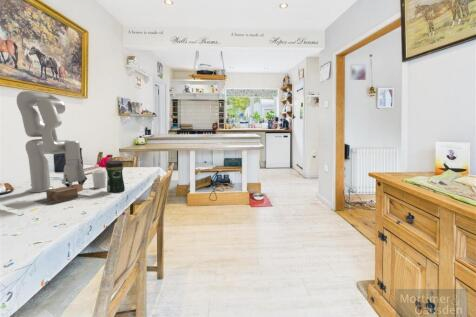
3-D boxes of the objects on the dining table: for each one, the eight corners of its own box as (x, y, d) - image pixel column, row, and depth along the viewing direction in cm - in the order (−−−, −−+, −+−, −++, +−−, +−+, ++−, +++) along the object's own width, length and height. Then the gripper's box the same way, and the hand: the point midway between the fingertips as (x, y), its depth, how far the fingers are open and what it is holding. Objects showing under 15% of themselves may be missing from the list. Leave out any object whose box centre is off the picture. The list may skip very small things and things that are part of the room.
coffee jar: (122, 188, 173) (120, 159, 171) (126, 191, 167) (124, 160, 165) (105, 191, 167) (103, 160, 165) (109, 193, 161) (107, 162, 159)
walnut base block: (47, 199, 143) (46, 190, 142) (66, 195, 152) (65, 186, 151) (58, 202, 138) (57, 192, 138) (77, 197, 147) (77, 188, 146)
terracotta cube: (69, 193, 161) (68, 185, 161) (77, 192, 166) (76, 183, 165) (74, 194, 159) (73, 186, 158) (82, 192, 163) (81, 184, 163)
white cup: (101, 188, 175) (100, 172, 174) (90, 188, 177) (89, 172, 175) (109, 185, 183) (108, 170, 182) (98, 185, 184) (97, 170, 183)
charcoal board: (33, 204, 140) (33, 201, 140) (72, 195, 157) (72, 192, 157) (51, 208, 133) (51, 205, 132) (90, 198, 150) (90, 195, 150)
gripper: (83, 160, 169) (85, 189, 172) (54, 163, 154) (57, 195, 157) (91, 160, 166) (93, 190, 168) (62, 164, 151) (65, 196, 153)
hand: (75, 192), depth 162 cm, fingers closed on terracotta cube, 5 cm apart
